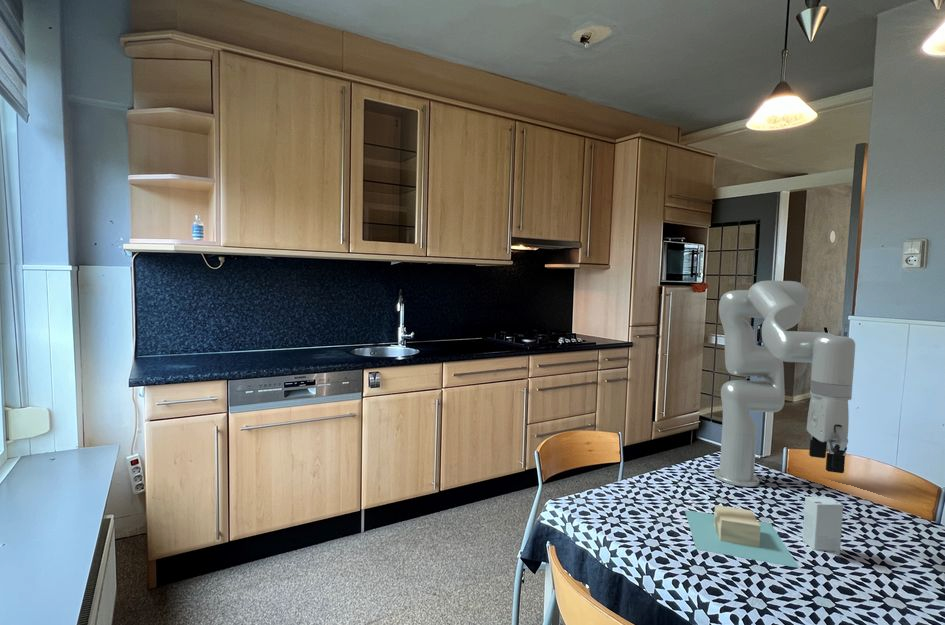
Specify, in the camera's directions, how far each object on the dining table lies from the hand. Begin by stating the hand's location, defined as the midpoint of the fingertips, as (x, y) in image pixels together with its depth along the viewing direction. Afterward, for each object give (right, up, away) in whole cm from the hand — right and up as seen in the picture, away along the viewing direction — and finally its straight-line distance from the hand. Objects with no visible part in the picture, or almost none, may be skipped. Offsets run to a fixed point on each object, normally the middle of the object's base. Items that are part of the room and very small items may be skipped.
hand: (825, 464), depth 107 cm
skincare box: (0, -21, +1) cm, 21 cm away
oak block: (-18, -19, +5) cm, 26 cm away
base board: (-18, -20, +5) cm, 27 cm away
